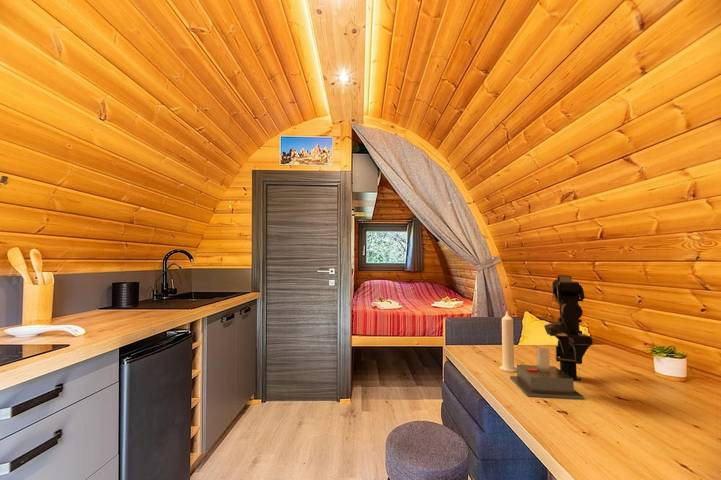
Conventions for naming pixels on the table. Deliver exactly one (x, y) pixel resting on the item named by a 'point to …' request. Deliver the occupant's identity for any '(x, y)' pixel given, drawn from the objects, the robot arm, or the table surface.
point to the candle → (507, 344)
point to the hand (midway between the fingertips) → (571, 358)
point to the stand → (545, 383)
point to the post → (543, 360)
